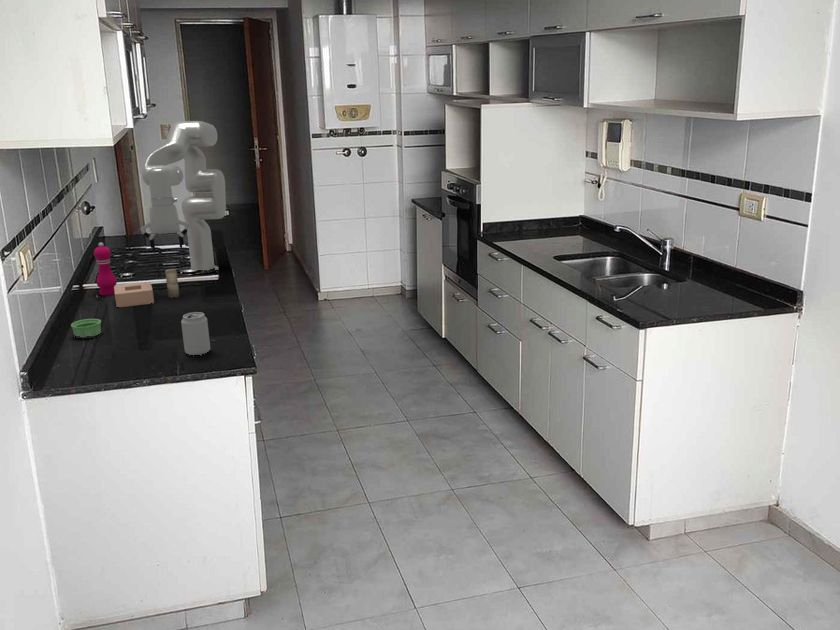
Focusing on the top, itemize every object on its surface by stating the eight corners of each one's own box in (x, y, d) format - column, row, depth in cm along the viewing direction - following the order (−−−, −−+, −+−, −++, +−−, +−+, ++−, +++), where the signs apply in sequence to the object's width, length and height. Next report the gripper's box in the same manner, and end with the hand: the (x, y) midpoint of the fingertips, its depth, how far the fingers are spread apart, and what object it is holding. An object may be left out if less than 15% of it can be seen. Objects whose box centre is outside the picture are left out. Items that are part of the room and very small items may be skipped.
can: (190, 348, 245) (186, 310, 241) (214, 348, 244) (210, 310, 241) (181, 356, 238) (176, 318, 234) (205, 357, 237) (201, 318, 234)
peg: (168, 295, 303) (164, 269, 300) (178, 294, 305) (175, 268, 302) (168, 298, 300) (165, 272, 297) (179, 296, 301) (176, 271, 298)
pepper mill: (115, 289, 314) (108, 239, 308) (120, 293, 308) (112, 242, 302) (96, 293, 310) (88, 242, 304) (100, 297, 304) (92, 245, 298)
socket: (115, 298, 301) (113, 285, 300) (152, 294, 306) (150, 281, 304) (116, 307, 289) (114, 294, 288) (154, 303, 294) (152, 290, 292)
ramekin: (108, 331, 263) (106, 319, 262) (92, 340, 255) (90, 327, 254) (83, 330, 265) (81, 318, 264) (67, 339, 257) (65, 326, 255)
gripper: (185, 199, 298) (190, 244, 303) (136, 202, 292) (142, 249, 297) (187, 201, 291) (192, 248, 296) (137, 205, 285) (143, 252, 290)
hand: (167, 248), depth 296 cm, fingers open, 9 cm apart
